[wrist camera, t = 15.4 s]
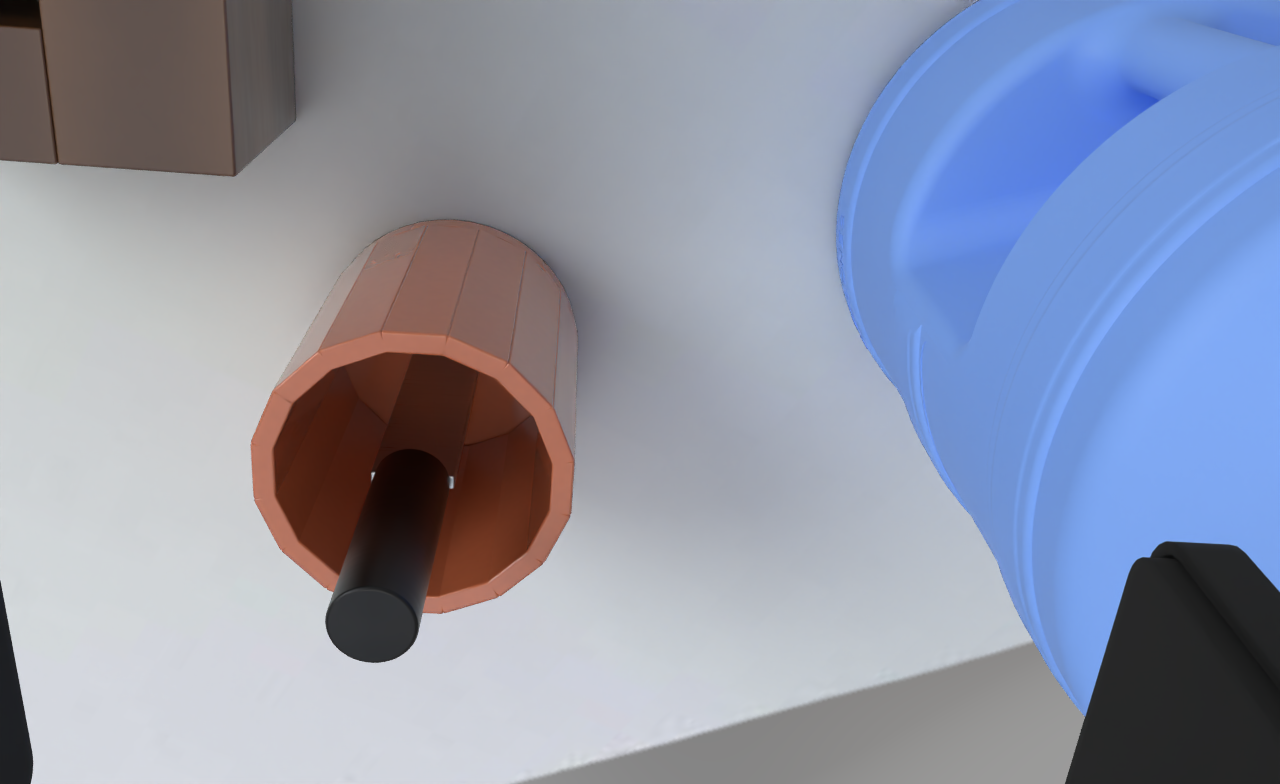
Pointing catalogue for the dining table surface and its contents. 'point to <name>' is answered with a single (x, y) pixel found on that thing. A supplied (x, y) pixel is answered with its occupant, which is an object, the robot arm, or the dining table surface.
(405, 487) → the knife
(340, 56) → the dining table surface
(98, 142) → the knife block
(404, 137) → the dining table surface
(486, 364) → the cup
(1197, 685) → the robot arm
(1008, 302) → the water jug
